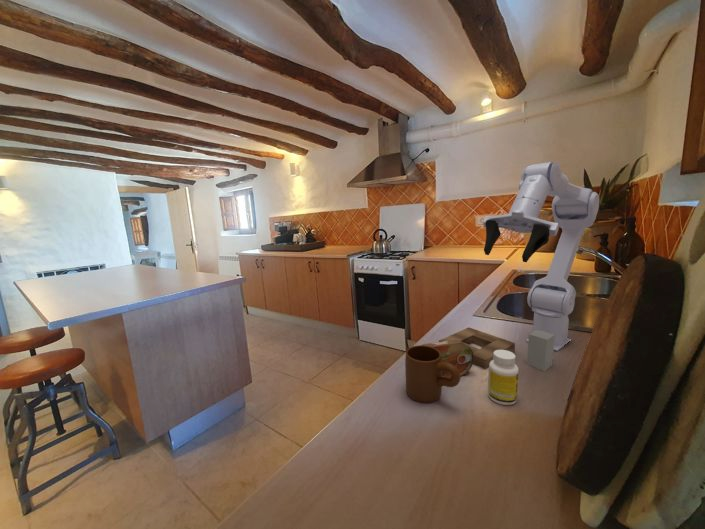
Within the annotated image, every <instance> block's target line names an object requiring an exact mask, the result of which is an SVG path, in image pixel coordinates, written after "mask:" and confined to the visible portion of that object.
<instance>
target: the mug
mask: <svg viewBox="0 0 705 529" xmlns="http://www.w3.org/2000/svg"><path fill="white" fill-rule="evenodd" d="M404 360H405V363H404V365H405V368H404V369H405V391H406V392H407V395H408V396H409V397H410V398H411V399H413V400H414V401H416V402H418V403H425V404H426V403H433V402H436V401H437V400H439V398H441V396H442V391H443V390H442V389H443V388H442V387H445V388H446V387H447V388H454V387H457V386H458V385H459V383H460V381H461V376H460V373H459V370H458V369H457V368H456V367H455V366H454V365H452V364H450V363H442V359H441V353H440V351H439V350H437V349H435V348H433V347H430V346H424V345H423V344H421V345H414V346H411V347H409V348H407V349H406V351H405V359H404ZM442 371H449V372H450V373H451V374H452V377H451V378H446V377H442Z"/></svg>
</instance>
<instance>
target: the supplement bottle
mask: <svg viewBox="0 0 705 529" xmlns="http://www.w3.org/2000/svg"><path fill="white" fill-rule="evenodd" d="M516 357H517V356H516V355H515V352H513V353H512V352H510V351H507V350H496V351H494V353H493V360H492V361H491V362H490V363H489V367H488V376H487V378H488V380H487V395H488V397H489V398H490V399H491V400H492V401H493V402H495V403H497V404H500V405H503V406H510V405H514V404H515V403H517V400H518V388H519V386H518V384H519V372H520V369H519V366H517V364H516V359H517V358H516Z"/></svg>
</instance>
